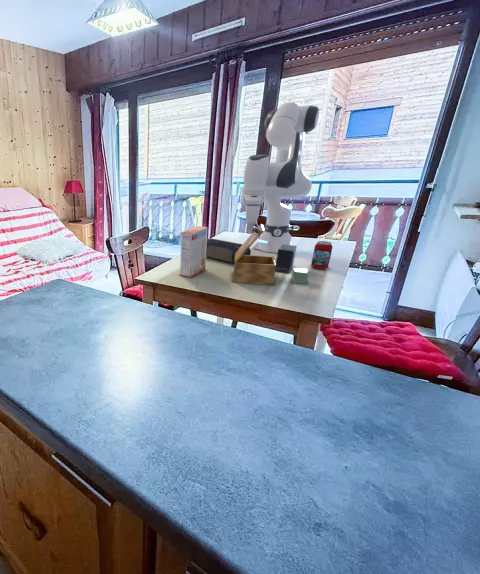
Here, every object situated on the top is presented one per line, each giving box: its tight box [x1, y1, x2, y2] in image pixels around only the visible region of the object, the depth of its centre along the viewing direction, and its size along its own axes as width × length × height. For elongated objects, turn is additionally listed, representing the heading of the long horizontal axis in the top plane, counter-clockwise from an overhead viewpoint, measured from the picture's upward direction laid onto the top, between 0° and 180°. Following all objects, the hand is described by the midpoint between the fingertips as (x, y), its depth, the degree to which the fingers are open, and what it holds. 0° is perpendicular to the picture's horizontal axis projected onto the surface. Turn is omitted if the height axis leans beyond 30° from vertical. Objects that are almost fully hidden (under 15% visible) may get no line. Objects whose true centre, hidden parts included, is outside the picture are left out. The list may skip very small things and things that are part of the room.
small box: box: [275, 244, 297, 273], centre depth 152 cm, size 11×6×10 cm, turn 143°
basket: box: [232, 254, 276, 286], centre depth 143 cm, size 16×13×9 cm
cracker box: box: [179, 225, 208, 278], centre depth 152 cm, size 14×6×21 cm, turn 134°
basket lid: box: [235, 223, 265, 262], centre depth 140 cm, size 17×13×5 cm
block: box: [290, 267, 310, 285], centre depth 138 cm, size 5×5×5 cm
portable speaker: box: [206, 238, 252, 264], centre depth 169 cm, size 25×10×10 cm, turn 36°
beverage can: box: [310, 240, 333, 270], centre depth 150 cm, size 7×7×12 cm
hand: (249, 231), depth 138 cm, fingers open, 8 cm apart
